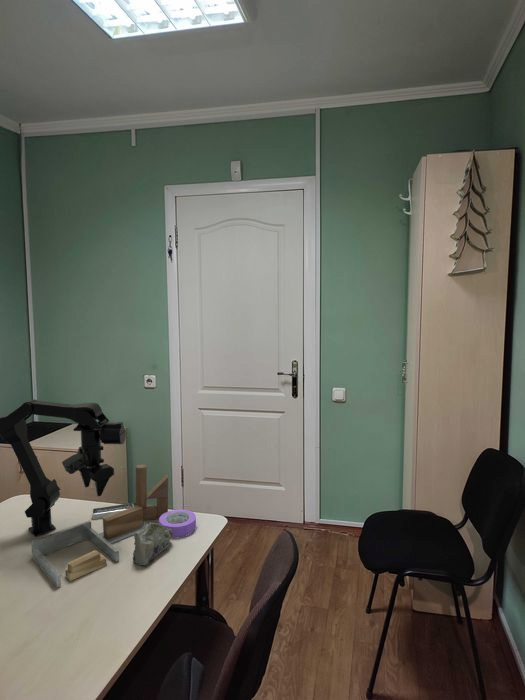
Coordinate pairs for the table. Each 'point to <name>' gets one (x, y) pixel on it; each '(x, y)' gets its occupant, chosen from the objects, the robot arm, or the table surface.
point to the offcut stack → (85, 565)
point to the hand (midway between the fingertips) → (93, 491)
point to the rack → (66, 539)
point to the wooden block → (151, 494)
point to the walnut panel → (122, 522)
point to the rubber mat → (123, 535)
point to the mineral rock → (150, 542)
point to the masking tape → (179, 516)
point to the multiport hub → (109, 510)
